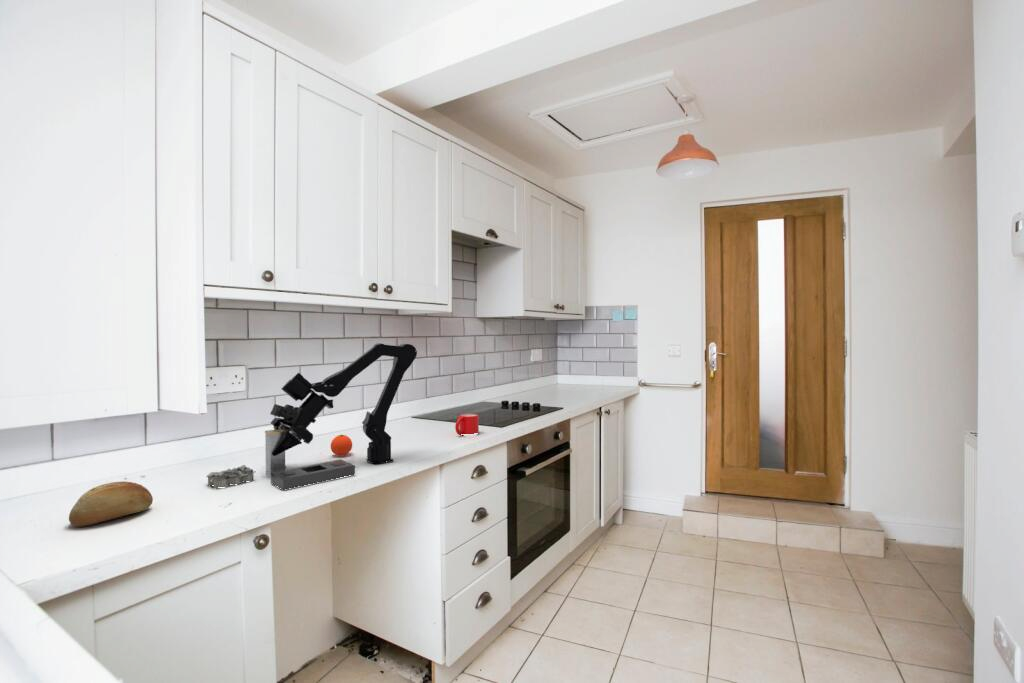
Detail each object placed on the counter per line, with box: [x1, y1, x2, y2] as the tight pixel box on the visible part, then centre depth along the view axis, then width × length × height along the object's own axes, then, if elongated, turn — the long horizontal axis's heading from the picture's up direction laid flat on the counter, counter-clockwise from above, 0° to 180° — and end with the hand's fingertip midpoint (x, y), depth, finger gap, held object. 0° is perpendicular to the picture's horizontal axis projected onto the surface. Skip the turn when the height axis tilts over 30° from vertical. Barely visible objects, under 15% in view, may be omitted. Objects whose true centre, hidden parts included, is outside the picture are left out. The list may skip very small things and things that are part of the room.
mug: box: [454, 413, 480, 436], centre depth 201 cm, size 8×12×8 cm, turn 148°
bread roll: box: [68, 481, 154, 528], centre depth 111 cm, size 10×15×8 cm, turn 146°
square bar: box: [264, 429, 286, 479], centre depth 143 cm, size 4×4×13 cm
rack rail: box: [270, 459, 356, 491], centre depth 140 cm, size 20×9×3 cm, turn 134°
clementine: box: [330, 434, 353, 457], centre depth 168 cm, size 8×7×7 cm
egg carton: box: [205, 464, 257, 489], centre depth 137 cm, size 11×8×4 cm
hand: (270, 453), depth 142 cm, fingers closed on square bar, 4 cm apart
